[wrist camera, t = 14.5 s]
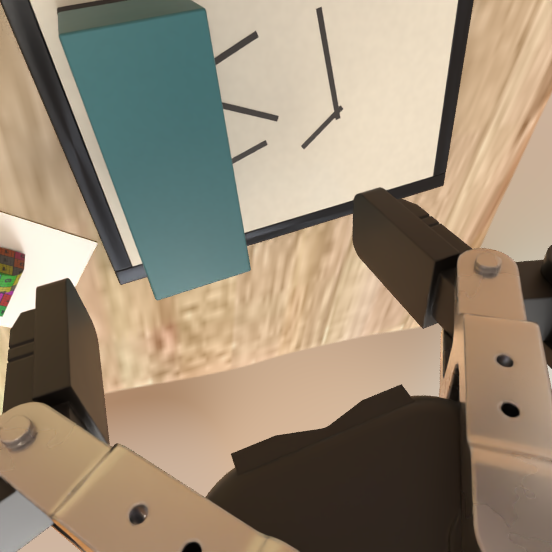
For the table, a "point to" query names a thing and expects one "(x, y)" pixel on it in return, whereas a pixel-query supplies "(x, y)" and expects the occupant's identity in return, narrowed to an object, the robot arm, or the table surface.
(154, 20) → the eraser
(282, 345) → the table surface
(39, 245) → the picture card
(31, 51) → the whiteboard
